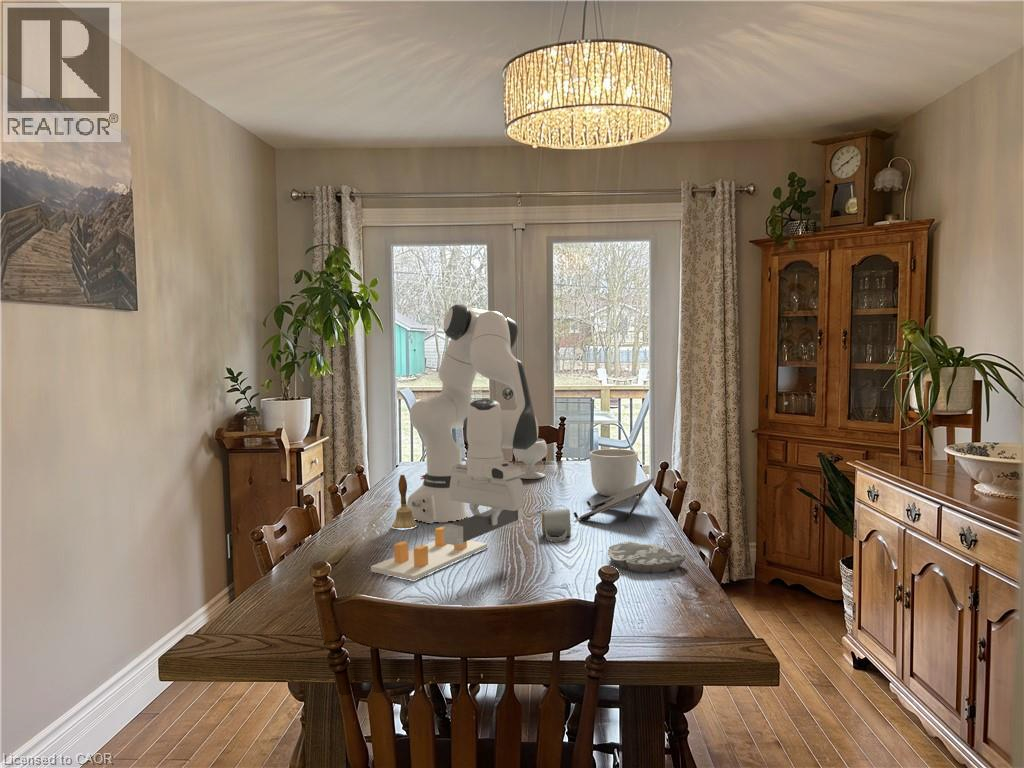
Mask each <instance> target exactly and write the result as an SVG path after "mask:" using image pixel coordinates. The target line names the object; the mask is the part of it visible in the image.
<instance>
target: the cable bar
mask: <svg viewBox="0 0 1024 768" xmlns="http://www.w3.org/2000/svg"><path fill="white" fill-rule="evenodd" d="M493 513H494V512H492V508H491V509H488V510H486V511H483V512H481V513H480V514H477V515H475V516H474V515H472V516H470V517H469V516H468V517H467V518H465V519H462V520H459V521H455V522H453V523H448V524H444V525H443V527H444V543H446V544H451V545H456V546H459V545H461V544H463V542H466V541H468V540H470V541H472V540H473V539H475V538H477V537H480V536H483V535H485V534H489V532H492V531H495V530H498V529H500V528H502V527H504V526H506V525H510V524H511V523H514V522H516V521H517V522H519V521H521V520H523V506H522V507H521V508H520V509H518V510H515V511H511V510H505V509H501V512H500V514H499V516H498V517H497V525H489V523H488V522H489V521H488V518H489V517H492V515H493Z"/></svg>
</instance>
